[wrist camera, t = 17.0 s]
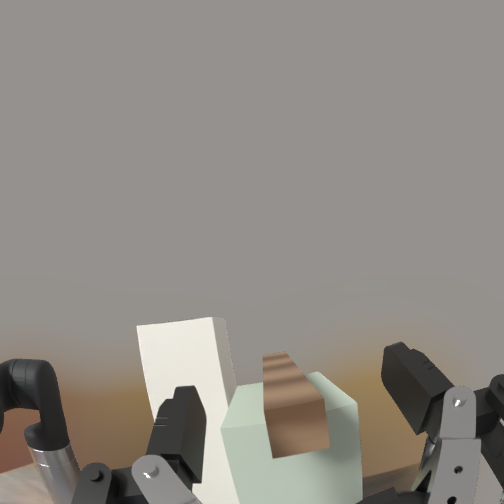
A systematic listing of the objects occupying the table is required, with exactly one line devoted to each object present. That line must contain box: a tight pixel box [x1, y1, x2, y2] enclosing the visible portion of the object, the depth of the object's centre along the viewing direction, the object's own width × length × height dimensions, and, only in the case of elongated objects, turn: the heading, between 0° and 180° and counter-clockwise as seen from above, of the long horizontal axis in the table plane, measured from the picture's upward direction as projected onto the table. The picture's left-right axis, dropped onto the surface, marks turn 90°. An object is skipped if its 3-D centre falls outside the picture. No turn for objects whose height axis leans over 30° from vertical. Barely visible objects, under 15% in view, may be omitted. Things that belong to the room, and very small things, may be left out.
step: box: [220, 372, 363, 504], centre depth 20 cm, size 14×10×29 cm
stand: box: [137, 317, 240, 504], centre depth 33 cm, size 12×10×38 cm
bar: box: [263, 351, 330, 459], centre depth 23 cm, size 24×3×3 cm, turn 178°
